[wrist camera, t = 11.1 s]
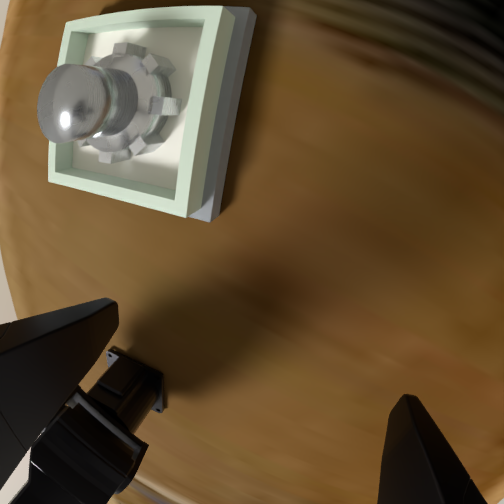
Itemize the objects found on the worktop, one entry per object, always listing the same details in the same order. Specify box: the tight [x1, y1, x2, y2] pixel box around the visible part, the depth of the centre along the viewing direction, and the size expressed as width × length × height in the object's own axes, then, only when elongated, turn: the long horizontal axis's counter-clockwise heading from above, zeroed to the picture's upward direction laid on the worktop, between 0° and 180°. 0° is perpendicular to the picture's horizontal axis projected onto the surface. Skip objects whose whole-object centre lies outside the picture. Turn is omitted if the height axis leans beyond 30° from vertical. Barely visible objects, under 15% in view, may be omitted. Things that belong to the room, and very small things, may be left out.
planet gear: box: [37, 42, 182, 164], centre depth 15 cm, size 7×7×6 cm
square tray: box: [48, 6, 257, 222], centre depth 17 cm, size 13×13×4 cm
